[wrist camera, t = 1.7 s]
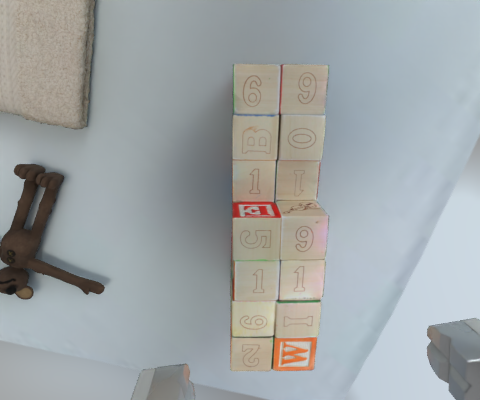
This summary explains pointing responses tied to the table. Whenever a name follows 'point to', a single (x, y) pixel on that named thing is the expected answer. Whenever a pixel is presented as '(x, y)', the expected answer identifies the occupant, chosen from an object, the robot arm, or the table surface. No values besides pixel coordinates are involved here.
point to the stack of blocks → (277, 215)
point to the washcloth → (46, 60)
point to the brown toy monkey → (33, 237)
